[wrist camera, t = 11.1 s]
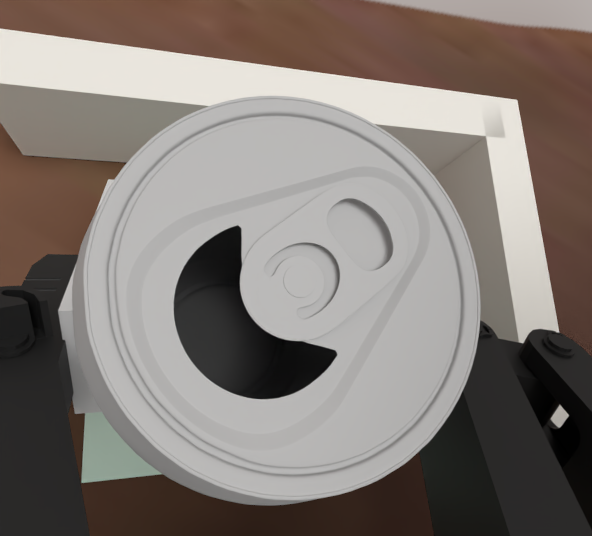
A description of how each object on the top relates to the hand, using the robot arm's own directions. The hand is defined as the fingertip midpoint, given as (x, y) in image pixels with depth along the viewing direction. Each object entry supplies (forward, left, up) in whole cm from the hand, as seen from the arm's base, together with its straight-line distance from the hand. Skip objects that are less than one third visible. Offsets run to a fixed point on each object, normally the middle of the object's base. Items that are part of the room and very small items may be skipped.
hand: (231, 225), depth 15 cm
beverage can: (0, +4, -4) cm, 5 cm away
